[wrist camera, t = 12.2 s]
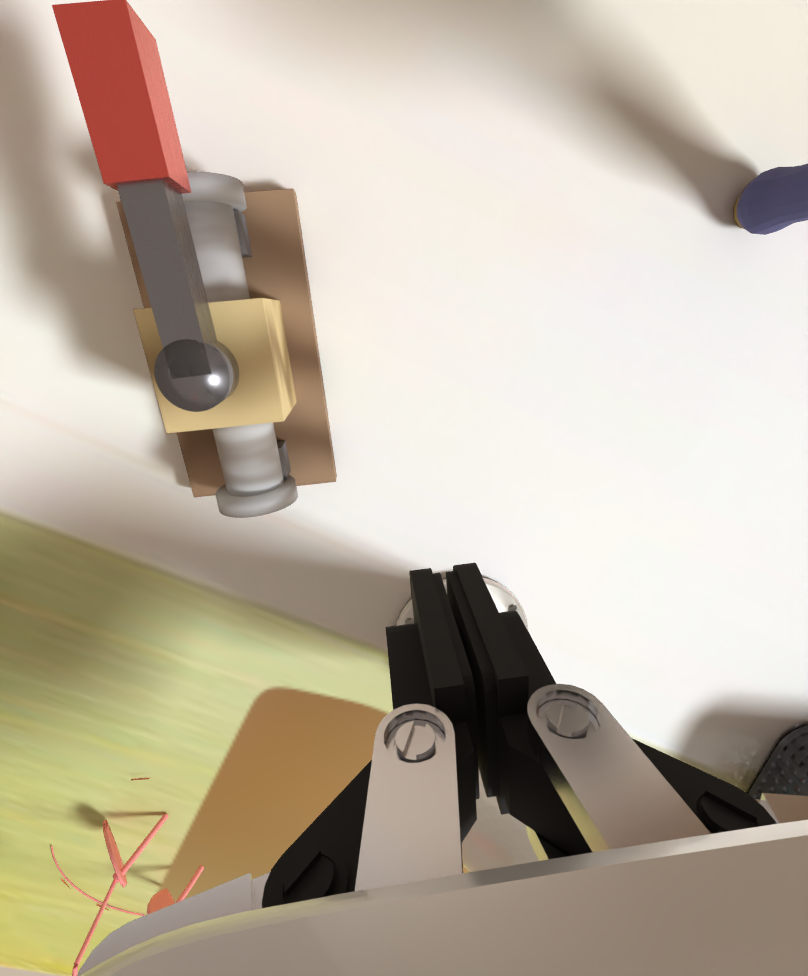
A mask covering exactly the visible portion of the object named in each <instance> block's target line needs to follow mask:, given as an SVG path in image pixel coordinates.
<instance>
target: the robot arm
mask: <svg viewBox="0 0 808 976" xmlns="http://www.w3.org/2000/svg"><path fill="white" fill-rule="evenodd" d="M410 584H411V595H412V599H411V600H410V601H409V602H408V603H407V605H406V606H405V607H404V609H403V610H402V612H401V614H400V616H399V618H398V620H397V624H396V626H390V627H386V635H387V646H388V657H389V668H390V679H391V690H392V701H393V711H391V712H390V713H389V714H388V715H386V716H385V717H384V719H383V720H382V721H381V723H380V724H379V726H378V729H377V732H376V735H375V742H374V749H373V757H372V760H371V761H370V762H369V763H368V764H367V765H366V766H365V767H364V769H363V770H362V771H361V772H360V773H359V774H358V775H357V776H356V777H355V778H354V779H353V780H352V781H351V782H350V783H349V785H348V786H347V787H346V788H345V789H344V790H343V791H342V792H341V793H340V794H339V795H338V796H337V797H336V798H335V799H334V800H333V802H332V803H331V804H330V805H329V806H328V807H327V808H326V809H325V810H324V811H323V812H322V813H321V814H320V815H319V816H318V817H317V819H316V820H315V821H314V822H313V823H312V824H311V825H310V826H309V827H308V828H307V829H306V830H305V831H304V832H303V833H302V835H301V836H300V837H299V838H298V839H297V840H296V841H295V842H294V843H293V844H292V845H291V846H290V847H289V848H288V849H287V850H286V851H285V853H284V854H283V855H282V856H281V857H280V859H279V860H278V861H277V863H276V864H275V865H274V867H273V868H272V869H271V872H269V873H267V874H265V875H262V876H260V877H257V878H255V879H252V877H251V873H248V874H246V875H244V876H241V877H239V878H236V879H234V880H231V881H229V882H226V883H224V884H221V885H219V886H217V887H214V888H212V889H209V890H207V891H204V892H202V893H199V894H197V895H194V896H192V897H190V898H187V899H185V900H182V901H180V902H177V903H175V904H172V905H170V906H167V907H165V908H163V909H160V910H158V911H155V912H153V913H150V914H148V915H145V916H143V917H140V918H138V919H136V920H133V921H131V922H128V923H127V924H125V925H123V926H122V927H120V928H118V929H116V930H115V931H113V932H111V933H110V934H109V935H108V936H107V937H106V938H105V939H104V940H103V941H102V942H101V943H100V944H99V945H98V946H97V947H96V948H95V949H94V950H93V951H92V952H91V954H90V955H89V957H88V958H87V960H86V961H85V963H84V964H83V966H82V967H81V969H80V970H79V972H78V975H77V976H808V796H798V795H785V794H772V793H762V795H761V799H760V800H758V799H754V798H752V797H751V796H750V795H749V794H747V793H745V792H744V791H742V790H740V789H738V788H737V787H735V786H733V785H731V784H729V783H727V782H725V781H723V780H720V779H718V778H716V777H714V776H712V775H710V774H707V773H705V772H703V771H701V770H699V769H697V768H695V767H692V766H690V765H688V764H686V763H684V762H682V761H680V760H677V759H675V758H673V757H671V756H669V755H667V754H664V753H662V752H660V751H658V750H656V749H654V748H652V747H649V746H647V745H645V744H643V743H641V742H639V741H636V740H634V739H632V738H631V737H630V736H629V735H628V734H627V732H626V731H625V730H624V729H623V728H622V726H621V725H620V724H619V723H618V722H617V720H616V719H615V718H614V717H613V716H612V714H611V713H610V712H609V711H608V710H607V708H606V707H605V706H604V705H603V704H602V703H601V702H600V701H599V700H598V699H597V698H596V697H595V696H594V695H592V694H591V693H589V692H587V691H585V690H584V689H581V688H578V687H575V686H572V685H565V684H556V683H555V681H554V679H553V677H552V675H551V673H550V671H549V669H548V668H547V666H546V664H545V662H544V660H543V658H542V656H541V654H540V653H539V651H538V649H537V647H536V645H535V643H534V641H533V640H532V638H531V636H530V634H529V632H528V625H527V619H526V616H525V613H524V610H523V608H522V606H521V605H520V603H519V601H518V600H517V598H516V597H515V596H514V595H513V594H512V592H511V591H509V590H508V589H507V588H505V587H504V586H503V585H501V584H499V583H497V582H495V581H493V580H490V579H487V578H483V577H482V575H481V573H480V571H479V569H478V567H477V565H476V563H470V564H462V565H454V566H453V571H451V572H446V579H443V580H442V577H441V574H440V573H435V574H433V573H432V570H431V568H429V569H421V570H413V571H410ZM463 865H464V866H465V867H466V869H467V870H468V871H469V873H463Z"/></svg>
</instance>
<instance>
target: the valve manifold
mask: <svg viewBox="0 0 808 976" xmlns="http://www.w3.org/2000/svg"><path fill="white" fill-rule="evenodd" d="M187 175H188V180H189V184H190V188H191V192H192V193H185V194H182V197H183V201H184V205H185V209H186V213H187V218H188V222H189V226H190V230H191V234H192V238H193V242H194V247H195V251H196V255H197V259H198V263H199V267H200V271H201V275H202V280H203V284H204V288H205V292H206V296H207V300H208V304H209V308H210V313H211V317H212V321H213V325H214V329H215V333H216V337H217V341H219V342H221V343H222V344H224V345H225V346H226V347H227V348H228V349H229V350H230V351H231V352H232V354H233V355H234V357H235V358H236V361H237V363H238V367H239V382H238V385H237V388H236V389H235V391H234V392H233V394H232V395H231V396H230V397H228V398H227V399H225V400H224V401H222V402H221V403H219V404H218V405H216V406H215V407H213V408H211V409H209V410H206V411H201V412H191V411H186V410H183V409H181V408H178V407H177V406H175V405H173V404H172V403H171V402H169V401H168V400H167V399H166V398H165V397H164V396H163V394H162V393H161V391H160V390H159V388H158V386H157V383H156V380H155V376H154V366H155V361H156V358H157V356H158V354H159V353H160V351H161V350H162V349H163V346H162V343H161V339H160V336H159V332H158V329H157V325H156V322H155V318H154V315H153V311H152V308H151V304H150V301H149V297H148V293H147V290H146V286H145V283H144V279H143V276H142V272H141V269H140V265H139V262H138V258H137V255H136V251H135V248H134V244H133V240H132V237H131V233H130V230H129V226H128V223H127V219H126V216H125V212H124V209H123V205H122V202H116V203H117V206H118V210H119V214H120V218H121V222H122V226H123V229H124V233H125V237H126V241H127V245H128V248H129V252H130V256H131V260H132V264H133V267H134V271H135V275H136V279H137V283H138V286H139V290H140V294H141V298H142V302H143V305H144V308H143V309H133V311H134V314H135V318H136V322H137V325H138V329H139V333H140V336H141V340H142V344H143V348H144V351H145V355H146V359H147V362H148V366H149V370H150V373H151V377H152V381H153V384H154V388H155V392H156V396H157V399H158V403H159V407H160V410H161V414H162V418H163V421H164V425H165V429H166V432H167V433H176V432H177V435H178V439H179V442H180V446H181V450H182V454H183V458H184V461H185V465H186V469H187V473H188V477H189V481H190V484H191V488H192V492H193V496H194V497H202V496H211V495H216V499H217V503H218V507H219V511H220V513H221V514H223V515H225V516H229V517H238V518H243V517H254V516H260V515H265V514H269V513H273V512H276V511H278V510H281V509H283V508H285V507H287V506H289V505H291V504H292V503H293V502H295V501H296V499H297V498H298V493H297V487H296V486H301V485H310V484H319V483H328V482H336V476H337V475H336V468H335V461H334V454H333V447H332V440H331V433H330V426H329V420H328V413H327V406H326V399H325V392H324V385H323V378H322V371H321V364H320V357H319V350H318V343H317V336H316V329H315V322H314V315H313V308H312V301H311V295H310V288H309V281H308V274H307V267H306V260H305V253H304V246H303V239H302V232H301V225H300V218H299V211H298V204H297V197H296V193H295V191H294V189H281V190H268V191H254V192H244V189H243V183H242V182H241V181H240V180H238V179H237V178H234V177H231V176H227V175H223V174H217V173H209V172H187Z"/></svg>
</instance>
